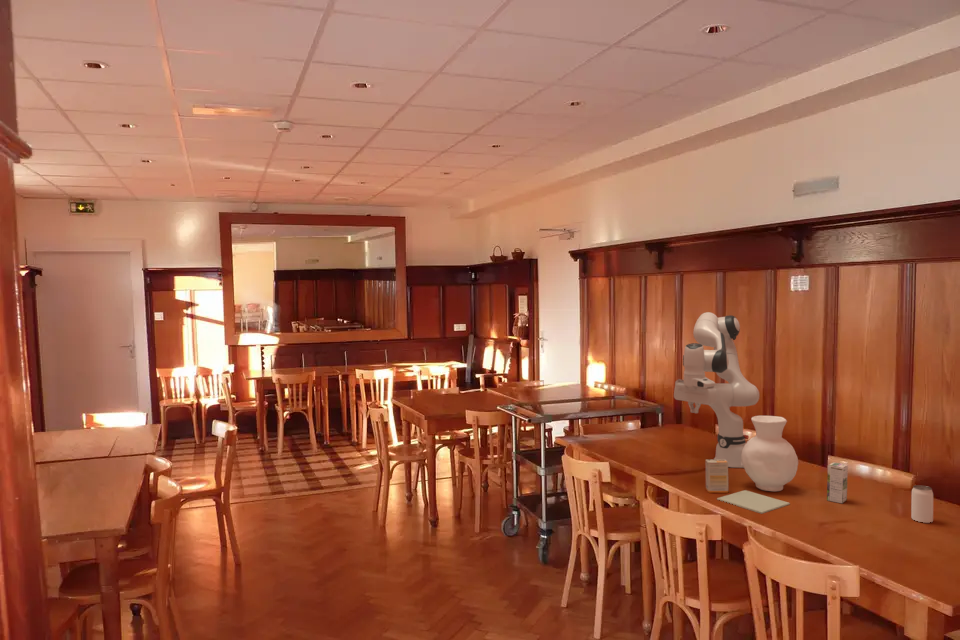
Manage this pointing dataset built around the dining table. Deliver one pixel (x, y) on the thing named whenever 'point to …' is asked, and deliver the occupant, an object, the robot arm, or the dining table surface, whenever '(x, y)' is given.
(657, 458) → the dining table surface
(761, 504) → the board
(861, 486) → the dining table surface
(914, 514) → the can
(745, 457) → the vase
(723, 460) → the supplement box
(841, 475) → the syrup box
